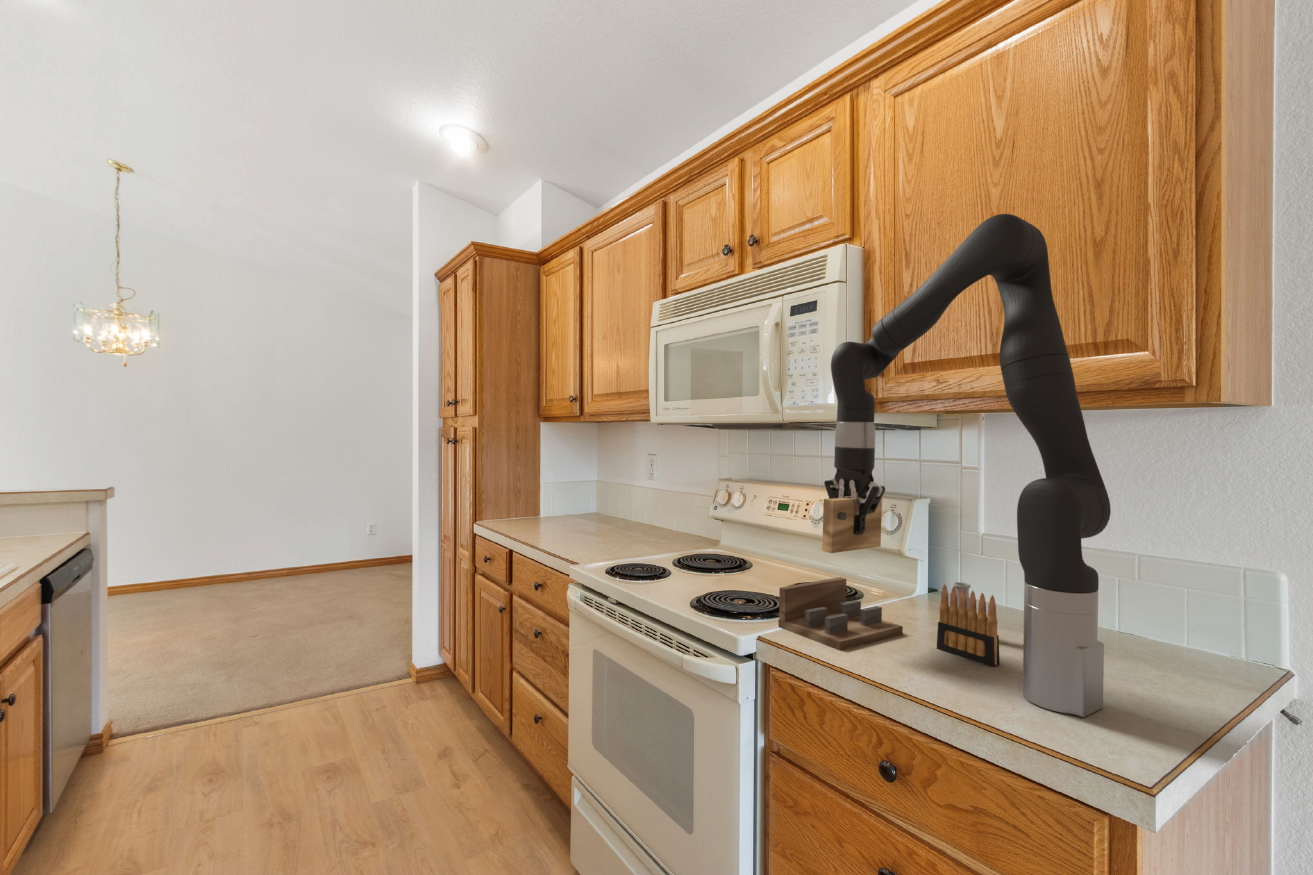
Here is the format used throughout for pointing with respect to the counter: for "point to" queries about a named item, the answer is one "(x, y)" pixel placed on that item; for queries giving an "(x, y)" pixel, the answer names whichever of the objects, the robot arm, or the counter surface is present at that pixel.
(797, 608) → the brown wooden base
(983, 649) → the ammunition clip
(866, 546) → the door
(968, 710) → the counter surface
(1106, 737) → the counter surface
